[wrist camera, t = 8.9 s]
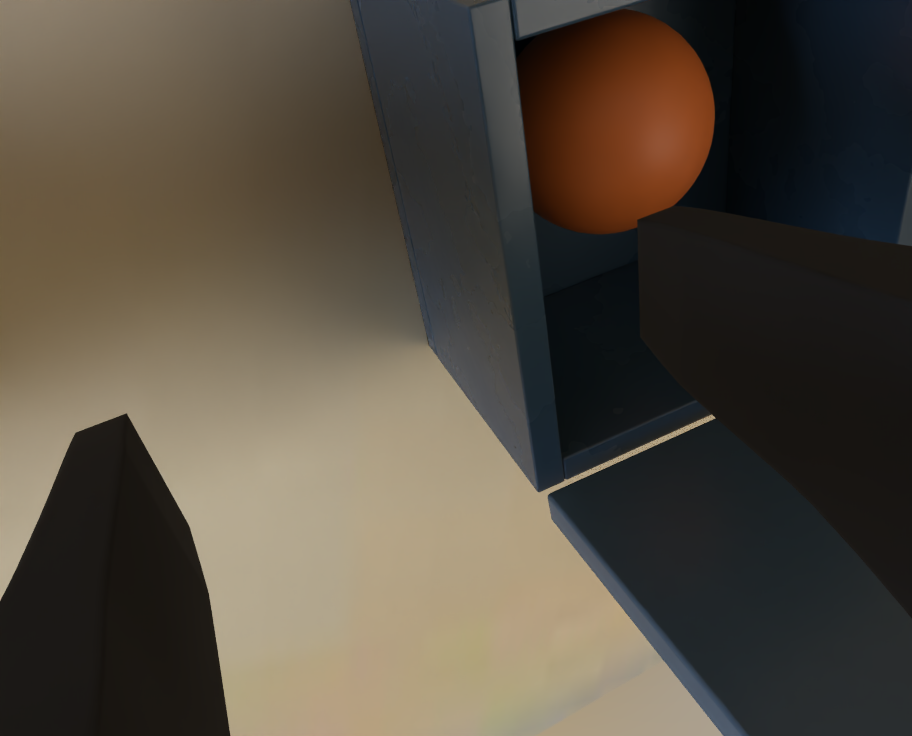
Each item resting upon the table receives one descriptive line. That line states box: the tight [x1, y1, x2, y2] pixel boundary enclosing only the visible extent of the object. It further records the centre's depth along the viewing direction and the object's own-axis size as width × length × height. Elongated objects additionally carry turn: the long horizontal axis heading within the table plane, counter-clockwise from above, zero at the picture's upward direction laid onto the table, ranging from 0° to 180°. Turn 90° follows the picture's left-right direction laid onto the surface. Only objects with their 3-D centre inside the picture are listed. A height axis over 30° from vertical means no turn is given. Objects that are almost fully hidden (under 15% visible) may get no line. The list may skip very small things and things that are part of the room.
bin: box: [350, 0, 912, 492], centre depth 18 cm, size 10×10×7 cm
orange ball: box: [516, 9, 715, 234], centre depth 18 cm, size 5×5×5 cm
